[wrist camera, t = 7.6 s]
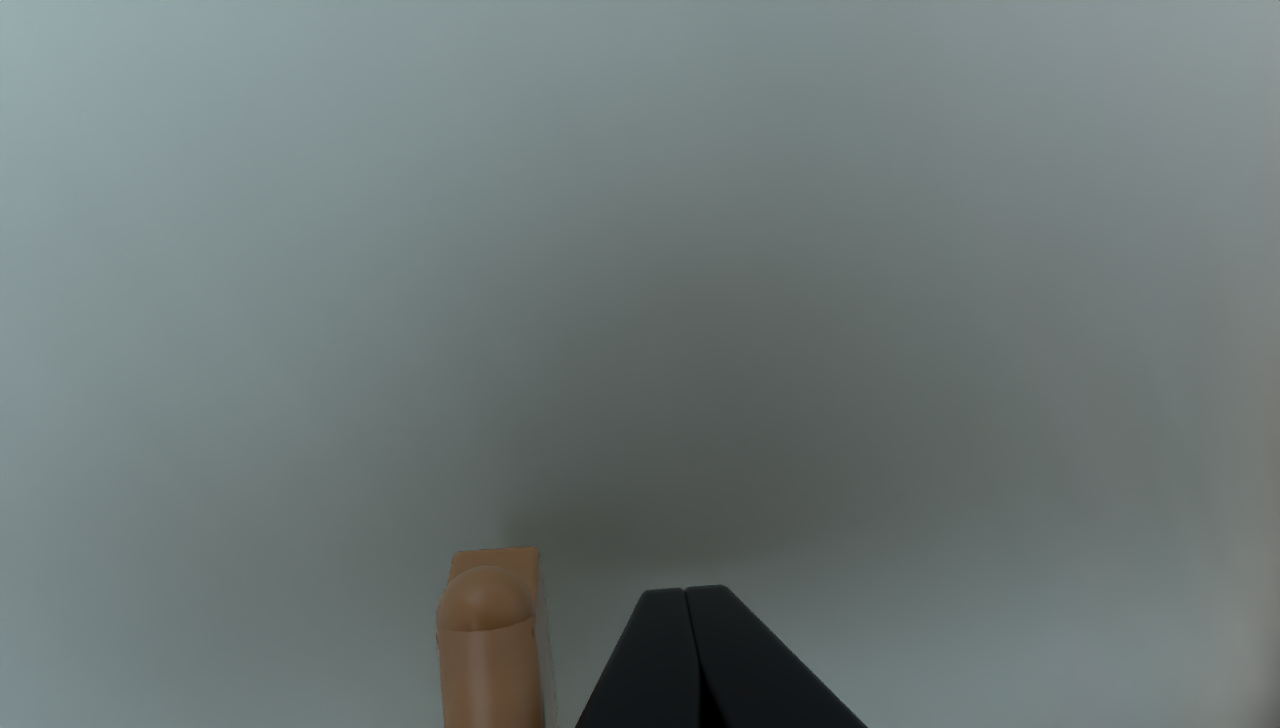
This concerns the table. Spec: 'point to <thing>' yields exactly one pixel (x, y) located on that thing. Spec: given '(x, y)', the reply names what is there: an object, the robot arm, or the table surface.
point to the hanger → (496, 642)
